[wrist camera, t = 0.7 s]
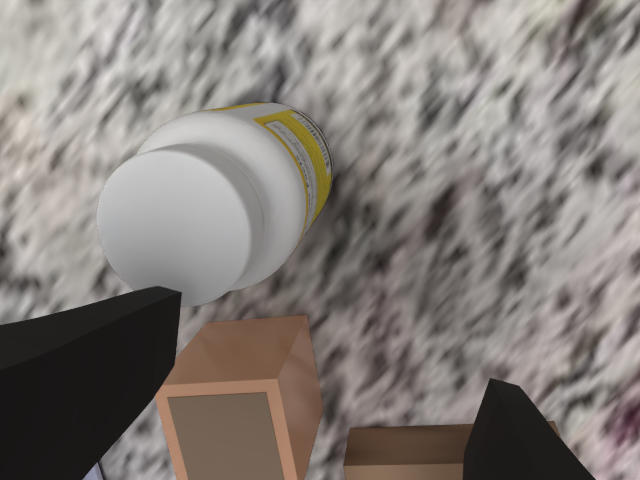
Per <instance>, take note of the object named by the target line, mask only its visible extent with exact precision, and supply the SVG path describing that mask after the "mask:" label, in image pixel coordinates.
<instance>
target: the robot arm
mask: <svg viewBox="0 0 640 480" xmlns="http://www.w3.org/2000/svg"><path fill="white" fill-rule="evenodd" d="M181 298H182V292H179V291H176V290H172V289H168V288H165V287H161V286H154V287H149V288H145V289H141V290H137V291H133V292H130V293H126V294H123V295H119V296H116V297H113V298H109V299H106V300H102V301H99V302H96V303H92V304H89V305H85V306H82V307H78V308H74V309H70V310H66V311H62V312H58V313H54V314H50V315H46V316H42V317H39V318H34V319H30V320H25V321H20V322H15V323H10V324H4V325H0V480H103V478H102V475H101V472H100V468H99V465H98V461H99V460H100V459H101V458H102V457H103V455H104V454H105V453H106V452H107V451H108V450H109V449H110V447H111V446H112V445H113V444H114V443H115V442H116V441H117V440H118V438H119V437H120V436H121V435H122V434H123V433H124V432H125V431H126V429H127V428H128V427H129V426H130V425H131V424H132V423H133V421H134V420H135V419H136V418H137V417H138V416H139V415H140V413H141V412H142V411H143V410H144V409H145V408H146V406H147V405H148V404H149V403H150V402H151V400H152V399H153V398H154V396H155V395H156V393H157V392H158V391H159V389H160V388H161V386H162V385H163V383H164V381H165V380H166V378H167V377H168V375H169V374H170V372H171V370H172V369H173V367H174V366H175V356H176V346H177V337H178V327H179V317H180V307H181ZM463 480H596V479H595V478H594V477H593V476H592V475H591V474H590V473H589V472H588V471H587V469H586V468H585V467H584V466H583V465H582V464H581V463H580V461H579V460H578V459H577V458H576V457H575V455H574V454H573V453H572V452H571V451H570V449H569V448H568V447H567V446H566V445H565V443H564V442H563V441H562V440H561V438H560V437H559V436H558V435H557V433H556V432H555V431H554V430H553V428H552V427H551V426H550V424H549V423H548V422H547V421H546V419H545V418H544V417H543V415H542V414H541V413H540V411H539V410H538V409H537V408H536V406H535V405H534V404H533V402H532V401H531V400H530V399H529V397H528V396H527V395H526V394H525V392H524V391H523V390H522V389H521V388H520V387H519V386H517V385H514V384H510V383H507V382H503V381H499V380H496V379H492V378H490V380H489V383H488V386H487V389H486V391H485V394H484V397H483V400H482V403H481V406H480V408H479V411H478V414H477V417H476V420H475V423H474V425H473V428H472V431H471V434H470V437H469V440H468V442H467V445H466V448H465V451H464V461H463Z"/></svg>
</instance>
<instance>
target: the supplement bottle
mask: <svg viewBox="0 0 640 480" xmlns="http://www.w3.org/2000/svg"><path fill="white" fill-rule="evenodd" d="M332 181H333V161H332V155H331V151H330V149H329V146H328V143H327V141H326V139H325V137H324V136H323V134H322V133H321V131H320V130H319V129H318V127H317V126H316V125H315V124H314V123H313V122H312V121H311V120H310V119H309V118H308V117H306V116H305V115H304V114H302V113H301V112H299V111H297V110H295V109H293V108H291V107H288V106H285V105H282V104H277V103H266V102H259V103H251V104H244V105H238V106H231V107H224V108H218V109H211V110H204V111H198V112H193V113H189V114H185V115H183V116H180V117H177V118H175V119H173V120H171V121H169V122H167V123H165V124H164V125H162V126H161V127H159V128H158V129H157V130H156V131H154V132H153V133H152V134H151V135H150V136H149V137H148V138H147V139H146V140H145V142H144V143H143V144H142V146H141V147H140V149H139V150H138V152H137V154H136V156H134V157H132V158H130V159H129V160H127V161H126V162H124V163H123V164H122V165H120V166H119V167H118V168H117V169H116V170H115V171H114V172H113V173H112V175H111V176H110V177H109V179H108V180H107V182H106V184H105V186H104V188H103V190H102V192H101V195H100V198H99V201H98V207H97V220H96V221H97V231H98V237H99V240H100V244H101V247H102V249H103V252H104V254H105V256H106V258H107V260H108V262H109V263H110V265H111V266H112V268H113V269H114V271H115V272H116V273H117V275H118V276H119V277H120V278H121V279H122V280H123V281H124V282H125V283H126V284H127V285H128V286H129V287H131V288H132V289H133V290H135V291H137V290H141V289H145V288H149V287H154V286H161V287H165V288H168V289H172V290H176V291H179V292H182V298H181V307H192V306H199V305H202V304H205V303H209V302H211V301H213V300H216V299H218V298H219V297H221V296H222V295H224V294H225V293H227V292H228V291H233V290H239V289H243V288H247V287H250V286H252V285H255V284H257V283H259V282H261V281H263V280H264V279H266V278H268V277H269V276H271V275H272V274H273V273H274V272H275V271H277V270H278V269H279V268H280V267H281V266H282V265H283V264H284V263H285V261H286V260H287V259H288V258H289V257H290V256H291V254H292V253H293V251H294V250H295V249H296V247H297V245H298V244H299V242H300V241H301V239H302V238H303V236H304V235H305V234H306V232H307V231H308V229H309V228H310V226H311V225H312V223H313V222H314V220H315V219H316V217H317V216H318V214H319V213H320V211H321V210H322V208H323V206H324V204H325V203H326V201H327V199H328V196H329V193H330V190H331V186H332Z"/></svg>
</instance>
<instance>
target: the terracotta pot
mask: <svg viewBox="0 0 640 480" xmlns="http://www.w3.org/2000/svg"><path fill="white" fill-rule="evenodd" d="M155 399H156V403H157V407H158V410H159V414H160V418H161V422H162V425H163V429H164V433H165V437H166V440H167V444H168V448H169V452H170V455H171V459H172V463H173V467H174V470H175V474H176V478H177V480H304V478H305V475H306V471H307V467H308V464H309V460H310V457H311V453H312V449H313V446H314V442H315V438H316V435H317V431H318V427H319V424H320V420H321V416H322V413H323V403H322V397H321V392H320V386H319V380H318V375H317V369H316V363H315V358H314V352H313V346H312V341H311V335H310V329H309V324H308V318H307V315H296V316H284V317H272V318H259V319H247V320H235V321H222V322H210V323H206V324H205V325H204V326H203V328H202V329H201V330H200V331H199V332H198V333H197V334H196V336H195V337H194V338H193V339H192V340H191V341H190V343H189V344H188V345H187V346H186V347H185V348H184V349H183V351H182V352H181V353H180V354H179V355H178V356H177V358H176V359H175V366H174V367H173V369H172V370H171V372H170V374H169V375H168V377H167V378H166V380H165V381H164V383H163V385H162V386H161V388H160V389H159V391H158V392H157V393H156V395H155Z"/></svg>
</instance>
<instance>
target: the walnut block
mask: <svg viewBox="0 0 640 480" xmlns="http://www.w3.org/2000/svg"><path fill="white" fill-rule="evenodd" d="M547 422H548V423H549V424H550V426H551V427H552V428H553V430H554V431H555V432H556V433H557V435H558V436H559V437H560V435H559V432H558V430H557V428H556V425H555V423H554V421H547ZM473 425H474V424H458V425H430V426H401V427H373V428H350V432H349V437H348V443H347V448H346V454H345V459H344V465H343V467H344V473H345V479H346V480H463V461H464V451H465V448H466V445H467V442H468V440H469V437H470V434H471V431H472V428H473ZM560 438H561V437H560Z"/></svg>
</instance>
